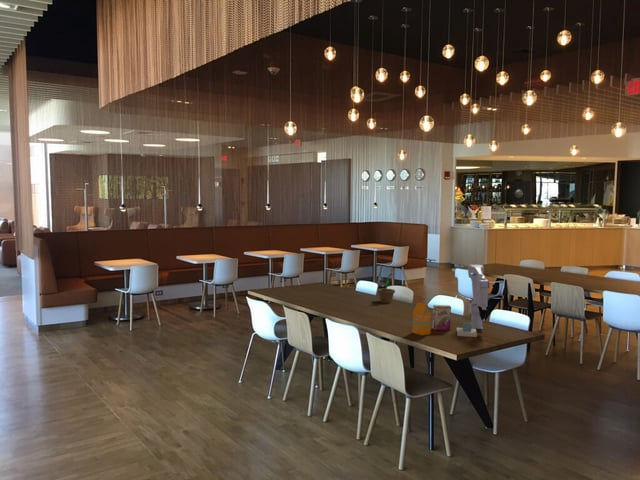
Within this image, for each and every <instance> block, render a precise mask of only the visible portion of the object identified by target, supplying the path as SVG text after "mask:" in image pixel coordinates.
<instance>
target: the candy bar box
mask: <svg viewBox="0 0 640 480" xmlns="http://www.w3.org/2000/svg"><path fill="white" fill-rule="evenodd" d="M432 309H433V310H432V323H431V326H432V327H431V329H433V331H451V319H452V318H451V316H452V315H451V314H452V312H451V311H452V305H448V304H445V305H444V304H433V305H432Z"/></svg>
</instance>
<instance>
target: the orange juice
mask: <svg viewBox="0 0 640 480" xmlns="http://www.w3.org/2000/svg"><path fill="white" fill-rule="evenodd" d="M412 312H413V314H412V333H413V334H416V335H419V336H427V335H431V329H432V327H431V326H432V311H431V308H430V307H429V305H428V303H422V302H417V303H416V305H415V307H414V309H413V311H412Z"/></svg>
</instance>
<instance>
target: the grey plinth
mask: <svg viewBox="0 0 640 480" xmlns="http://www.w3.org/2000/svg"><path fill="white" fill-rule="evenodd" d="M456 335H457V336H458V337H468V338H469V337H470V338H477V337H478V332H477V329H473V328H471V332H469V331H463V327H456Z"/></svg>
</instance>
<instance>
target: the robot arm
mask: <svg viewBox="0 0 640 480" xmlns="http://www.w3.org/2000/svg"><path fill="white" fill-rule="evenodd" d="M484 268H485V267H484V265H483V264H469V265H468V266H467V273H468V274H467V275H468V278H470V279H471V288H472V301H471V302H469V309H468V311H469V314H470V315H471V319H470V322H471V329H476V330H483V329H484V328H483V327H484V326H483V321H485V320H486V317H487V314H488V312H489V309H487V307H488V297H489V289H490V280H489V279H487V278H486V275H485V274H484V271H485V269H484Z"/></svg>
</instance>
